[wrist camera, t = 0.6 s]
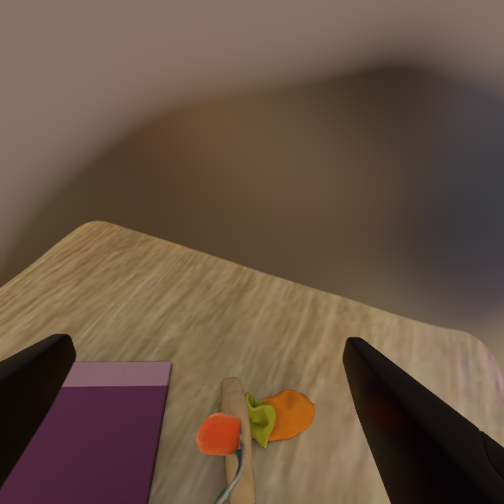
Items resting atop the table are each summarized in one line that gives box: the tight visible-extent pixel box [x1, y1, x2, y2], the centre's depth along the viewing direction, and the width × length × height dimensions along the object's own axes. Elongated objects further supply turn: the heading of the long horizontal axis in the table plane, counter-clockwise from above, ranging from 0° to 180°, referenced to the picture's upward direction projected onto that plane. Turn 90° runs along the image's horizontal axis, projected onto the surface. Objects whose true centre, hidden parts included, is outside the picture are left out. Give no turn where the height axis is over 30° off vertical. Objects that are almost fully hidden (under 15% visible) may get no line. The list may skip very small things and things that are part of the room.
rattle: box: [196, 377, 315, 504], centre depth 15 cm, size 8×8×12 cm
